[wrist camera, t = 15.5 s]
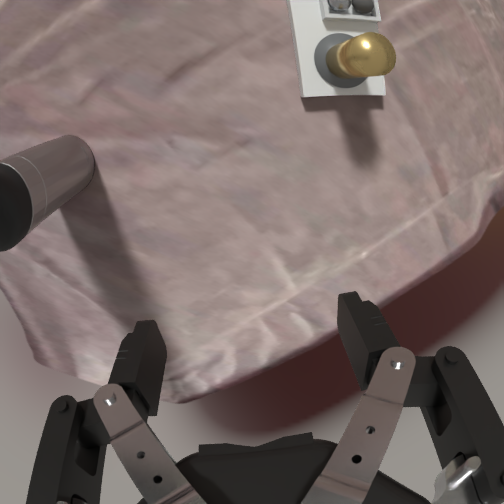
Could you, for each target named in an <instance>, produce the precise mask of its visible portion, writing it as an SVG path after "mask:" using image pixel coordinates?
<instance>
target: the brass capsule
mask: <svg viewBox="0 0 504 504" xmlns="http://www.w3.org/2000/svg"><path fill="white" fill-rule="evenodd" d="M395 62H396V54H395V50H394V48H393V46H392V44H391V43H390V41H389V40H388V39H387V38H386V37H384V36H383V35H381V34H379V33H375V32H366V33H363V34H360V35H358V36H356V37H353V38H351V39H348V40H346V41H344V42H341V43H339V44H337V45H335V46H333V47H331V48H330V49H329V50H328V52H327V54H326V65H327V67H328V69H329V70H330V72H331V73H332V74H333V75H335V76H336V77H339V78H342V79H350V78H360V77H371V76H383V75H386V74H388V73H389V72H390V71H391V70H392V69H393V68H394V66H395Z"/></svg>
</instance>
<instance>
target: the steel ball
mask: <svg viewBox="0 0 504 504" xmlns="http://www.w3.org/2000/svg"><path fill="white" fill-rule="evenodd" d="M328 5H329V6H330V8H331V9H333V10H334V11H337V12H344V11H346V10H348V9H349V7H350V5H351V1H350V0H328Z"/></svg>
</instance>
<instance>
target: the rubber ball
mask: <svg viewBox="0 0 504 504" xmlns="http://www.w3.org/2000/svg"><path fill="white" fill-rule="evenodd" d="M352 6H353V8H354V9H355V10H356V11H357V12H359V13H363V14H366V13H370V12H371V11H372V10H373V8H374V2H373V0H352Z"/></svg>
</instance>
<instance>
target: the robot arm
mask: <svg viewBox="0 0 504 504" xmlns="http://www.w3.org/2000/svg"><path fill="white" fill-rule="evenodd" d="M93 172H94V158H93V154H92V152H91V150H90V148H89V146H88V145H87V144H86V143H85V142H84V141H83V140H82V139H80V138H78V137H76V136H71V135H67V136H62V137H59V138H56V139H53V140H50V141H47V142H45V143H42V144H39V145H37V146H34V147H31V148H29V149H26V150H24V151H21V152H19V153H16V154H14V155H11V156H9V157H7V158H5V159H2V160H0V251H6V250H9V249H11V248H13V247H14V246H15V245H17V244H18V243H19V242H20V241H21V240H22V239H23V238H24V237H25V236H26V235H27V234H29V233H30V232H31V231H32V230H33V229H34V228H35V227H37V226H38V225H39V224H40V223H41V222H42V221H43V220H45V219H46V218H47V217H48V216H49V215H51V214H52V213H53V212H54V211H56V210H57V209H58V208H59V207H61V206H62V205H63V204H64V203H66V202H67V201H68V200H70V199H71V198H72V197H74V196H75V195H76V194H78V193H79V192H80V191H82V190H83V189H84V188H85V187H86V186H87V185H88V184H89V182H90V181H91V179H92V176H93ZM337 325H338V331H339V334H340V337H341V339H342V342H343V344H344V347H345V350H346V352H347V355H348V357H349V360H350V362H351V365H352V367H353V370H354V373H355V375H356V377H357V380H358V383H359V386H360V388H361V390H366V389H367V391H366V393H365V394H363V396H362V398H361V400H360V402H359V404H358V406H357V408H356V410H355V412H354V414H353V416H352V418H351V420H350V422H349V424H348V426H347V428H346V430H345V432H344V434H343V436H342V438H341V440H340V441H339V443H338V444H336V443H334V442H331V441H327V440H321V439H313V436H312V432H310V433H304V434H299V435H293V436H287V437H282V438H279V439H277V440H274V441H272V442H269V443H266V444H263V445H260V446H257V447H250V446H242V445H234V444H227V443H223V444H205V445H199V452H197V453H194V454H191V455H189V456H187V457H185V458H183V459H182V460H180V461H179V462H176V461H175V460H174V459H173V458H172V456H171V455H170V454H169V453H168V451H167V450H166V449H165V447H164V446H163V445H162V443H161V442H160V441H159V439H158V438H157V437H156V435H155V434H154V432H153V431H152V429H151V428H150V427H149V425H148V424H147V419H148V416H157V411H158V405H159V399H160V393H161V387H162V381H163V375H164V369H165V363H166V358H167V351H166V346H165V343H164V341H163V338H162V336H161V333H160V331H159V329H158V326H157V324H156V322H155V320H145V321H138V322H137V323H136V326H135V329H134V332H133V333H128V334H127V336H126V337H125V338H124V339H123V340H122V342H121V345H120V348H119V352H118V354H117V357H116V358H117V359H116V360H115V363H114V366H113V369H112V372H111V375H110V378H109V382H108V384H107V385H104V386H102V387H101V388H100V389H99V390H98V391H97V392H96V393H95V396H94V398H92V399H88V400H85V401H80V402H77V401H76V400H75V399H74V398H73V397H72V396H69V395H64V396H61V397H59V398H57V399H56V400H55V401H54V402H53V403H52V405H51V407H50V410H49V414H48V417H47V420H46V423H45V426H44V430H43V433H42V437H41V441H40V444H39V448H38V451H37V456H36V459H35V463H34V468H33V472H32V476H31V481H30V485H29V491H28V495H27V501H26V504H99V503H100V493H101V484H102V475H103V467H104V461H105V454H106V447H107V444H111V445H112V447H113V449H114V450H115V452H116V454H117V456H118V457H119V459H120V461H121V463H122V464H123V466H124V467H125V469H126V471H127V473H128V474H129V476H130V477H131V479H132V481H133V482H134V484H135V485H136V487H137V488H138V490H139V491H140V493H141V494H142V496H143V498H142V499H141V500H140V501H139V503H137V504H501V503H503V502H504V426H503V423H502V421H501V419H500V418H499V415H498V413H497V411H496V409H495V407H494V406H493V404H492V402H491V400H490V398H489V396H488V394H487V392H486V390H485V389H484V387H483V385H482V383H481V381H480V379H479V378H478V376H477V374H476V372H475V371H474V369H473V367H472V366H471V364H470V362H469V360H468V359H467V357H466V355H465V354H464V353H463V352H462V351H461V350H460V349H458V348H456V347H452V346H447V347H443V348H441V349H439V350H438V351H437V353H436V355H435V356H434V357H433V356H432V357H431V356H430V357H418V356H414V355H413V353H412V352H411V351H409V350H408V349H406V348H403V347H401V346H400V345H399V343H398V341H397V339H396V338H395V336H394V334H393V332H392V331H391V329H390V327H389V325H388V324H387V323H386V321H385V319H384V317H383V316H382V314H381V312H380V310H379V308H378V307H377V306H376V305H374V304H373V303H372V302H370V301H369V300H368V301H363V302H362V300H361V299H360V297H359V295H358V293H357V292H356V291H354V292H348V293H343V294H339V296H338V315H337ZM403 407H420V409H421V411H422V414H423V416H424V419H425V421H426V424H427V427H428V430H429V432H430V435H431V438H432V440H433V443H434V446H435V449H436V452H437V455H438V458H439V461H440V463H441V466H442V471H441V472H440V473H439V474H438V476H437V477H436V480H435V496H434V499H433V501H432V503H430V502H429V501H428V500H427V499H426V498H424V497H423V496H421V495H419V494H417V493H416V492H414V491H412V490H410V489H409V488H407V487H405V486H404V485H402V484H400V483H399V482H397V481H395V480H394V479H392V478H390V477H389V476H387V475H386V474H384V473H382V472H381V471H379V470H378V469H379V467H380V464H381V462H382V460H383V457H384V455H385V453H386V450H387V448H388V445H389V443H390V440H391V438H392V436H393V433H394V430H395V428H396V425H397V422H398V419H399V417H400V414H401V411H402V408H403Z"/></svg>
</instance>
